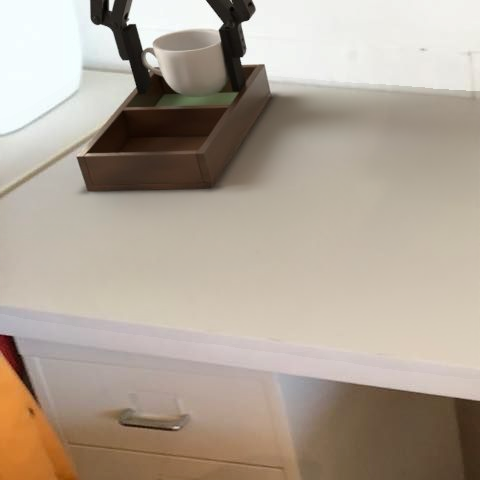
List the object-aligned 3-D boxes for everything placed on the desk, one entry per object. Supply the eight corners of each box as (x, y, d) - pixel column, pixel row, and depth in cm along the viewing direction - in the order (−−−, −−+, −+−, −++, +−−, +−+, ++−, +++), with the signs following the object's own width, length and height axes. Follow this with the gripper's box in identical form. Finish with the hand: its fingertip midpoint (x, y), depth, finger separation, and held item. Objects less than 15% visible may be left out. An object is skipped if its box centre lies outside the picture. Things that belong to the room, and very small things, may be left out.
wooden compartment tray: (87, 191, 133) (75, 156, 130) (161, 98, 152) (152, 66, 149) (212, 188, 132) (203, 153, 130) (271, 95, 151) (264, 63, 148)
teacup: (247, 78, 146) (236, 28, 143) (222, 103, 141) (210, 52, 137) (164, 77, 148) (151, 27, 144) (135, 102, 142) (121, 51, 138)
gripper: (255, -152, 131) (299, 73, 146) (38, -145, 132) (104, 78, 147) (236, -135, 126) (284, 98, 141) (10, -127, 127) (81, 103, 142)
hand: (192, 88), depth 144 cm, fingers closed on teacup, 10 cm apart
